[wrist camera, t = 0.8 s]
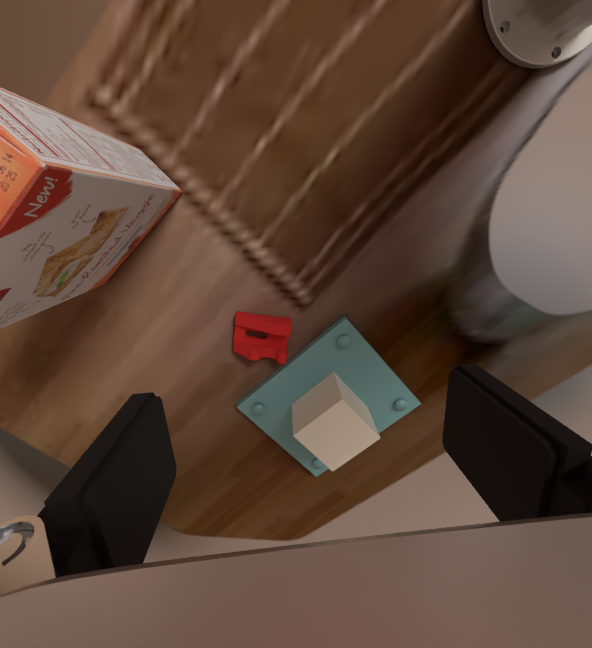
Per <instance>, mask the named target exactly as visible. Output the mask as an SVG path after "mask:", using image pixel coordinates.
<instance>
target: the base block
mask: <svg viewBox="0 0 592 648" xmlns="http://www.w3.org/2000/svg"><path fill="white" fill-rule="evenodd" d="M292 422H293V436H294V437H295V438H296V439H297V440H298V441H299V442H300V443H302V444H303V445H304V446H305V447H306V448H307V449H308V450H309V451H310V452H312V453H313V454H314V455H315V456H316V457H317V458H318V459H319V460H320V461H321V462H323V463H324V464H325V465H326V466H327V467H328V468H329V469H330V470H331V471H334V470H336V469H337V468H339V467H340V466H341V465H343V464H344V463H346V462H347V461H349V460H350V459H352V458H353V457H354V456H356V455H357V454H359V453H360V452H362V451H363V450H364V449H366V448H367V447H369V446H370V445H372V444H373V443H375V442H376V441H377V440H379V439H380V435H379V433H378V431H377V428H376V426H375V424H374V421H373V419H372V417H371V414H370V412H369V410H368V407H367V406H366V405H365V404H364V403H363V402H362V401H361V400H360V399H359V398H358V397H357V396H356V395H355V393H354V392H353V391H352V390H351V389H350V388H349V387H348V386H347V385H346V384H345V383H344V382H343V381H342V380H341V379H340V378H339V377H338V376H337V375H336V374H335V373H334V372H333V373H332V374H330V375H329V376H328V377H326V378H325V379H324V380H323V381H321V382H320V383H319V384H317V385H316V386H315V387H313V388H312V389H311V390H310V391H308V392H307V393H306V394H304V395H303V396H302V397H301V398H299V399H298V400H297V401H295V402H294V403H293V404H292Z"/></svg>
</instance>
